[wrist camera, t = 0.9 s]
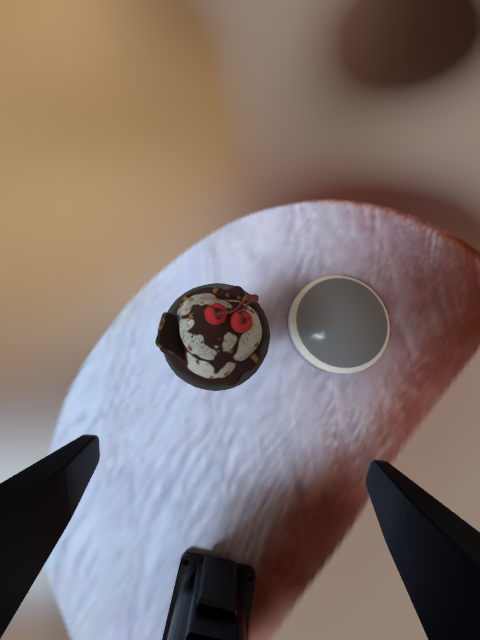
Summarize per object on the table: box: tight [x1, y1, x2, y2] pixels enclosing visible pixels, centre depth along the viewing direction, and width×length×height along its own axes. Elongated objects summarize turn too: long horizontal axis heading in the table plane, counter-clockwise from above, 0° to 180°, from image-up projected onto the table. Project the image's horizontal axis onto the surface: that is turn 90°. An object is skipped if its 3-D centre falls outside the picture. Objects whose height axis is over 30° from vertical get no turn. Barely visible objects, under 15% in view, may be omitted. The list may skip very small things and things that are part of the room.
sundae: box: [156, 283, 270, 391], centre depth 17 cm, size 7×7×15 cm
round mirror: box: [287, 275, 390, 373], centre depth 24 cm, size 10×10×2 cm
